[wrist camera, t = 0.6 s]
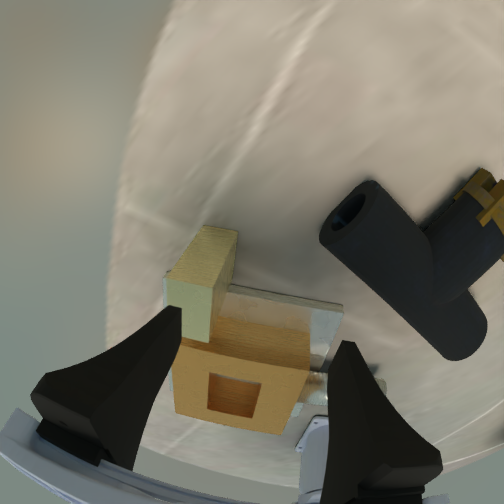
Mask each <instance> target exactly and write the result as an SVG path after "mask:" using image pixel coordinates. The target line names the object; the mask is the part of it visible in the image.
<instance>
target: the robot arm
mask: <svg viewBox="0 0 504 504" xmlns="http://www.w3.org/2000/svg"><path fill="white" fill-rule="evenodd" d="M181 341H182V308H180V307H176V306H172V305H168V306H167V307H165V308H164V309H163V310H162V311H161V312H160V313H158V314H157V315H156V316H155V317H154V318H153V319H151V320H150V321H149V322H148V323H146V324H145V325H144V326H143V327H141V328H140V329H139V330H138V331H136V332H135V333H134V334H132V335H131V336H129V337H128V338H126V339H125V340H124V341H122V342H120V343H119V344H117V345H116V346H114V347H112V348H111V349H109V350H107V351H105V352H103V353H101V354H100V355H97V356H96V357H93V358H91V359H89V360H87V361H84V362H82V363H79V364H76V365H73V366H71V367H68V368H64V369H60V370H56V371H52V372H49V373H46V374H45V375H44V376H43V377H42V378H41V380H40V381H39V382H38V384H37V385H36V387H35V388H34V390H33V391H32V393H31V394H30V396H31V400H32V402H33V404H34V405H35V407H36V408H37V410H38V411H39V413H40V414H41V416H42V417H43V419H42V421H41V423H39V422H38V421H37V420H36V419H35V418H33V417H32V416H30V415H28V414H27V413H25V412H24V411H22V410H21V409H19V408H16V409H15V410H14V412H13V413H12V415H11V416H10V418H9V419H8V421H7V422H6V424H5V425H4V427H3V428H2V430H1V432H0V455H1V456H2V457H3V458H5V459H6V460H7V461H8V462H9V463H10V464H11V465H13V466H14V467H15V468H16V469H17V470H19V471H20V472H22V473H23V474H24V475H26V476H27V477H29V478H31V479H32V480H33V481H35V482H37V483H38V484H39V485H41V486H43V487H44V488H46V489H47V490H49V491H51V492H52V493H54V494H56V495H57V496H59V497H61V498H63V499H64V500H66V501H68V502H70V503H71V504H257V503H251V502H245V501H239V500H233V499H228V498H223V497H217V496H213V495H209V494H205V493H201V492H196V491H192V490H189V489H185V488H181V487H178V486H174V485H171V484H168V483H164V482H161V481H158V480H155V479H152V478H149V477H146V476H143V475H141V474H138V473H135V472H132V470H133V466H134V462H135V459H136V455H137V451H138V448H139V444H140V441H141V438H142V434H143V431H144V428H145V425H146V422H147V419H148V416H149V414H150V411H151V408H152V405H153V403H154V400H155V398H156V396H157V394H158V392H159V390H160V388H161V386H162V384H163V382H164V380H165V378H166V376H167V374H168V372H169V370H170V368H171V366H172V364H173V362H174V360H175V358H176V355H177V352H178V350H179V347H180V344H181ZM327 402H328V417H321V416H315V417H314V418H313V419H312V421H311V423H310V424H309V426H308V428H307V429H306V431H305V433H304V434H303V436H302V438H301V439H300V441H299V443H298V444H297V446H296V447H295V451H296V452H302V456H301V469H300V481H299V490H300V493H301V495H299V498H298V501H296V502H293V503H292V504H450V502H449V495H448V494H442V495H437V496H431V497H427V498H424V499H422V494H423V493H424V492H425V487H424V485H425V484H427V483H428V482H430V481H431V480H433V479H434V478H436V477H437V476H438V475H439V474H440V473H441V472H442V470H443V465H442V459H441V454H440V451H439V450H438V449H437V448H435V447H434V446H433V445H431V444H430V443H429V442H427V441H426V440H425V439H424V438H422V437H421V436H420V435H419V434H418V433H417V432H416V431H415V430H414V429H413V428H412V427H411V426H410V425H409V424H408V423H407V422H406V421H405V420H404V419H403V418H402V417H401V415H400V414H399V413H398V412H397V411H396V409H395V408H394V407H393V406H392V404H391V403H390V402H389V400H388V399H387V397H386V396H385V395H384V393H383V391H382V390H381V388H380V387H379V385H378V384H377V382H376V380H375V378H374V377H373V375H372V373H371V371H370V370H369V368H368V366H367V364H366V362H365V360H364V358H363V357H362V355H361V353H360V351H359V349H358V347H357V345H356V343H355V342H350V341H344V340H342V342H341V344H340V346H339V348H338V350H337V352H336V355H335V357H334V359H333V361H332V363H331V365H330V367H329V369H328V379H327ZM155 498H158V499H160V500H157V499H155ZM161 500H164V501H161ZM165 501H167V502H165ZM169 502H170V503H169Z"/></svg>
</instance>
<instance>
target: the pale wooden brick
mask: <svg viewBox="0 0 504 504" xmlns="http://www.w3.org/2000/svg"><path fill="white" fill-rule="evenodd" d="M237 237H238V231H233V230H228V229H222V228H217V227H211V226H206V225H203V227H202V228H201V229H200V231H199V232H198V234H197V235H196V236H195V238H194V239H193V241H192V242H191V243H190V245H189V246H188V248H187V249H186V250H185V252H184V253H183V255H182V256H181V258H180V259H179V260H178V262H177V263H176V265H175V266H174V268H173V269H172V271H171V272H170V273H169V275H168V276H167V278H166V286H167V306H168V305H172V306H176V307H180V308H182V337H185V338H189V339H194V340H198V341H202V342H206V343H209V341H210V338H211V335H212V333H213V330H214V327H215V324H216V322H217V319H218V316H219V314H220V311H221V308H222V305H223V303H224V300H225V297H226V295H227V292H228V289H229V286H230V284H231V281H232V277H233V269H234V261H235V253H236V245H237Z"/></svg>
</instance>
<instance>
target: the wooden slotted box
mask: <svg viewBox="0 0 504 504" xmlns="http://www.w3.org/2000/svg"><path fill="white" fill-rule="evenodd" d="M169 273H170V272H169V271H167V272H166V274H165V275H164V277H163V302H164V308H165V307H167V286H166V278H167V276H168V275H169ZM343 314H344V311H343V305H338V304H332V303H326V302H321V301H315V300H309V299H304V298H298V297H293V296H287V295H282V294H277V293H271V292H266V291H261V290H256V289H251V288H246V287H241V286H236V285H231V284H230V286H229V289H228V292H227V295H226V297H225V300H224V303H223V305H222V308H221V311H220V314H219V316H218V319H217V322H216V324H215V327H214V330H213V333H212V335H211V338H210V341H209V343H206V342H202V341H198V340H194V339H189V338H185V337H182V341H181V344H180V347H179V350H178V352H177V355H176V358H175V360H174V362H173V364H172V366H171V368H170V370H169V372H168V375H169V385H170V391H173V393H174V403H175V412H176V413H178V414H182V415H185V416H189V417H193V418H197V419H201V420H205V421H209V422H213V423H217V424H222V425H227V426H231V427H236V428H241V429H247V430H252V431H258V432H264V433H270V434H277V435H281V434H282V432H283V430H284V427H285V425H286V423H287V421H288V419H289V417H290V416H294V417H298V415H299V413H300V411H301V409H302V407H303V405H304V404H312V405H321V406H328V402H327V379H328V373H324V372H319V371H320V369H321V367H322V364H323V362H324V360H325V358H326V355H327V353H328V351H329V348H330V346H331V344H332V341H333V339H334V336H335V334H336V332H337V329H338V327H339V324H340V322H341V319H342V317H343ZM375 380H376V382H377V384H378V385H379V387H380V388H381V390H382V391H383V393H384V395H385V396H386V390H387V388H386V382H385V380H384V379H379V378H375Z"/></svg>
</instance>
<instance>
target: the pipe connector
mask: <svg viewBox="0 0 504 504" xmlns="http://www.w3.org/2000/svg"><path fill="white" fill-rule="evenodd" d="M453 198H454V200H455V202H454V203H453V204H452V205H451V206H450V207H449V208H448V209H447V210H446V211H445V212H444V213H443V214H442V215H441V216H440V217H439V218H438V219H437V220H436V221H435V222H434V223H433V224H432V225H431V226H429V227H428V228H427V229H426V230H425V231H424V232H422V231H421V230H420V228H419V227H418V226H417V225H416V224H415V223H414V221H413V220H412V219H411V218H410V217H409V216H408V215H407V214H406V212H405V211H404V210H403V209H402V208H401V207H400V206H399V205H398V204H397V203H396V201H395V200H394V199H393V198H392V197H391V196H390V195H389V194H388V193H387V192H386V191H385V190H384V189H383V188H382V187H381V186H380V185H379V184H378V183H377V182H376V181H373V180H371V181H367V182H364V183H362V184H361V185H359V186H357V187H356V188H355V189H354V190H353V191H352V192H351V193H350V194H349V195H348V196H347V197H346V198H345V199H344V200H343V201H342V202H341V203H340V204H339V205H338V206H337V207H336V208H335V209H334V210H333V211H332V212H331V213H330V215H329V216H328V218H327V219H326V221H325V223H324V225H323V227H322V229H321V232H320V235H319V241H320V243H321V244H322V245H323V246H324V247H325V248H326V249H327V250H329V251H330V252H331V253H332V254H333V255H334V256H335V257H337V258H338V259H339V260H340V261H341V262H342V263H343V264H345V265H346V266H347V267H348V268H349V269H350V270H351V271H352V272H354V273H355V274H356V275H357V276H358V277H359V278H360V279H361V280H362V281H364V282H365V283H366V284H367V285H368V286H369V287H370V288H371V289H372V290H373V291H375V292H376V293H377V294H378V295H379V296H380V297H381V298H382V299H383V300H384V301H385V302H387V303H388V304H389V305H390V306H391V307H392V308H393V309H394V310H395V311H396V312H397V313H398V314H399V315H400V316H402V317H403V318H404V319H405V320H406V321H407V322H408V323H409V324H410V325H411V326H412V327H413V328H414V329H415V330H416V331H417V332H418V333H419V334H420V335H421V336H422V337H424V338H425V339H426V340H427V341H428V342H429V343H430V344H431V345H432V346H433V347H434V348H435V349H436V350H437V351H438V352H439V353H440V354H441V355H442V356H443V357H444V358H445V359H447V360H450V361H459V360H463V359H465V358H467V357H469V356H471V355H472V354H473V353H474V352H475V351H477V349H478V348H479V347H480V346H481V344H482V342H483V341H484V339H485V336H486V333H487V319H486V316H485V314H484V313H483V311H482V310H481V308H480V307H479V305H478V304H477V303H476V301H475V300H474V298H473V297H472V295H471V294H470V292H469V291H468V290H467V289H468V288H469V287H470V286H471V285H472V284H473V283H474V282H476V281H477V280H478V279H479V278H480V277H481V276H482V275H483V274H484V273H485V272H486V271H487V270H489V269H490V268H491V267H492V266H493V265H494V264H495V263H496V262H497V261H498V260H499V259H501V260H502V261H503V262H504V180H502V179H501V180H500V181H499V182H498V183H497V182H496V180H495V179H494V177H493V175H492V174H491V173H490V172H488V171H487V170H485V169H483V168H481V169H480V170H479V171H478V172H477V173H476V174H475V175H474V177H473V178H472V179H471V180H470V181H469V182H468V183H467V184H466V185H465V186H464V187H463V188H462V189H461V190H460V191H459V192H458V193H457V194H456V195H455V196H454V197H453Z"/></svg>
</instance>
